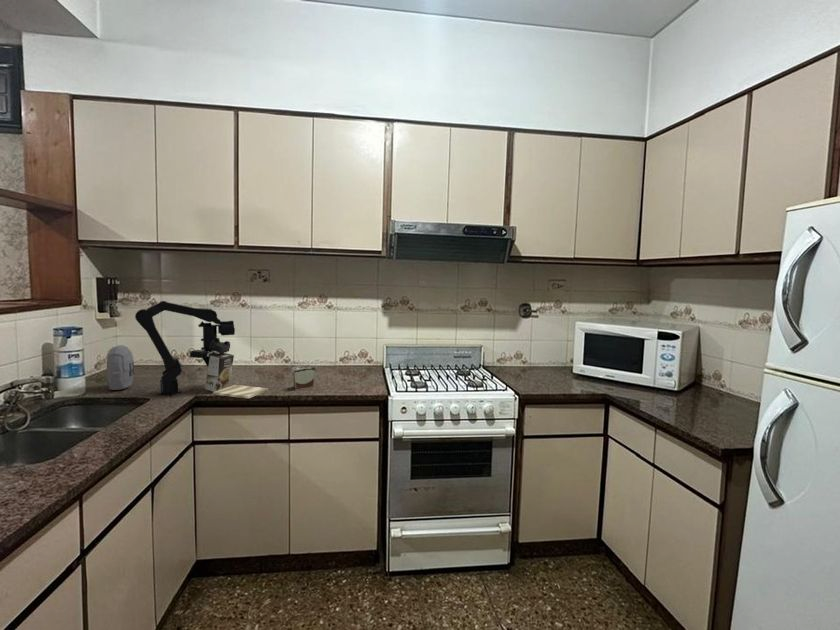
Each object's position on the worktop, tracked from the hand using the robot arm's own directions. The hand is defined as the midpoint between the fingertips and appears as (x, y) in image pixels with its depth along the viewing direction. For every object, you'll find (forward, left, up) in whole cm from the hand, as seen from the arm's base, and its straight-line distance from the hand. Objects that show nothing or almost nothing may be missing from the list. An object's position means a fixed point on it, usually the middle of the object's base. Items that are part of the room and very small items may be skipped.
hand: (210, 369), depth 195 cm
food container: (+36, +18, -9) cm, 42 cm away
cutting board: (+16, 0, -9) cm, 19 cm away
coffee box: (+3, 0, -9) cm, 9 cm away
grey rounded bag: (-37, -13, -9) cm, 40 cm away
